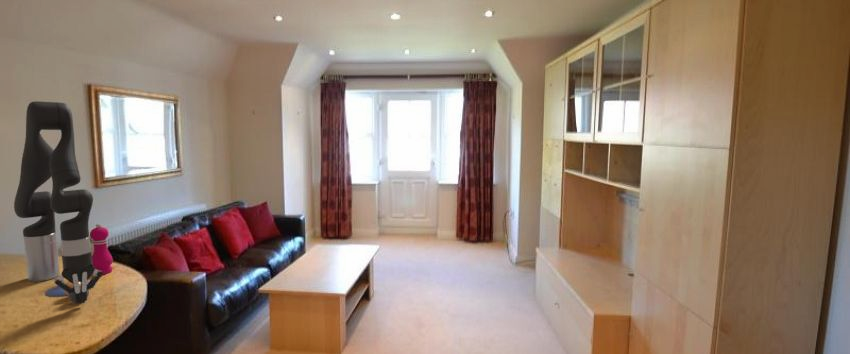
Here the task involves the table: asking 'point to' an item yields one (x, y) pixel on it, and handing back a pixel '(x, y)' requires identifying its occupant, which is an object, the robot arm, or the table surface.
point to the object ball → (70, 286)
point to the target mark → (57, 291)
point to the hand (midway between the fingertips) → (81, 302)
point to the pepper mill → (101, 250)
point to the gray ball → (72, 295)
